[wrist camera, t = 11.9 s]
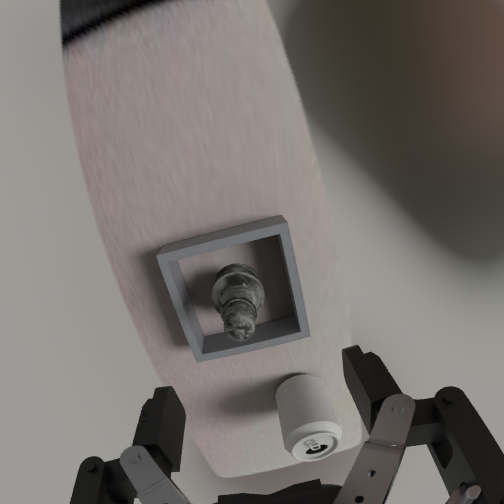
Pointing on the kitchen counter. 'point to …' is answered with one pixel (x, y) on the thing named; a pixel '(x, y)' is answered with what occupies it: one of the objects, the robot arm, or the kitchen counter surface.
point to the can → (307, 418)
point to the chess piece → (238, 300)
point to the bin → (263, 333)
